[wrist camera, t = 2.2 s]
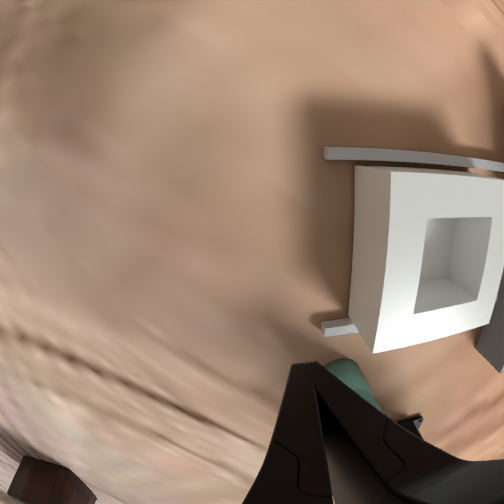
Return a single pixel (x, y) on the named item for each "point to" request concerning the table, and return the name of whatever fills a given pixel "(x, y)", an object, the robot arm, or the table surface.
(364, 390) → the dowel
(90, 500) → the black box with stems
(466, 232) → the socket block
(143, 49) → the table surface
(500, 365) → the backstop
